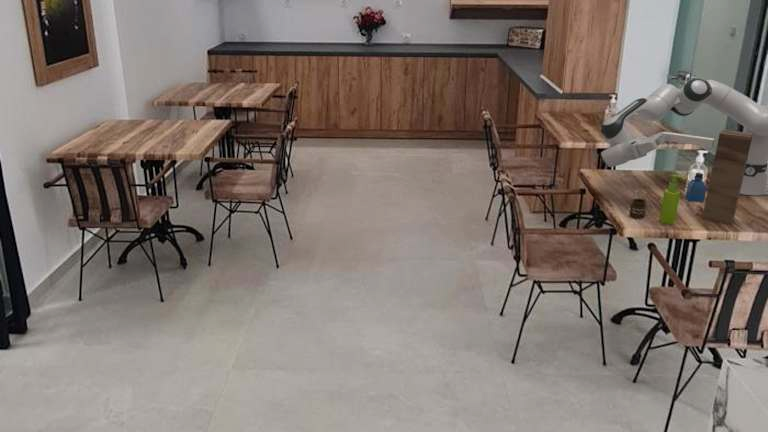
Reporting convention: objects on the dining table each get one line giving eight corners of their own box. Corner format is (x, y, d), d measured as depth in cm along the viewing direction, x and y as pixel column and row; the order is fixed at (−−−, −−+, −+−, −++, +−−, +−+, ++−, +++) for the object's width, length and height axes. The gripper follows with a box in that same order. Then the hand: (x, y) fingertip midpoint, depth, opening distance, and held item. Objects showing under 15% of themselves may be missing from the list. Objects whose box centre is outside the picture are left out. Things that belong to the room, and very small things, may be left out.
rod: (662, 138, 275) (663, 131, 274) (713, 145, 266) (714, 138, 264) (661, 140, 273) (662, 133, 272) (711, 147, 263) (713, 140, 262)
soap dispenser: (674, 226, 263) (683, 178, 256) (656, 221, 267) (665, 175, 260) (679, 221, 267) (688, 175, 260) (661, 217, 271) (670, 171, 264)
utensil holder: (628, 213, 276) (632, 186, 272) (643, 214, 275) (648, 187, 270) (630, 218, 270) (634, 190, 266) (646, 219, 269) (650, 192, 265)
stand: (705, 212, 278) (722, 129, 264) (734, 218, 272) (753, 133, 259) (702, 219, 271) (719, 133, 257) (731, 224, 265) (750, 137, 252)
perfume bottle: (703, 202, 290) (708, 176, 286) (688, 201, 291) (693, 175, 287) (700, 197, 296) (705, 172, 291) (685, 196, 297) (690, 171, 292)
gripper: (647, 148, 289) (678, 137, 280) (635, 159, 273) (668, 148, 264) (641, 135, 288) (673, 124, 280) (629, 145, 273) (662, 133, 264)
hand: (670, 135), depth 272 cm, fingers closed on rod, 3 cm apart
